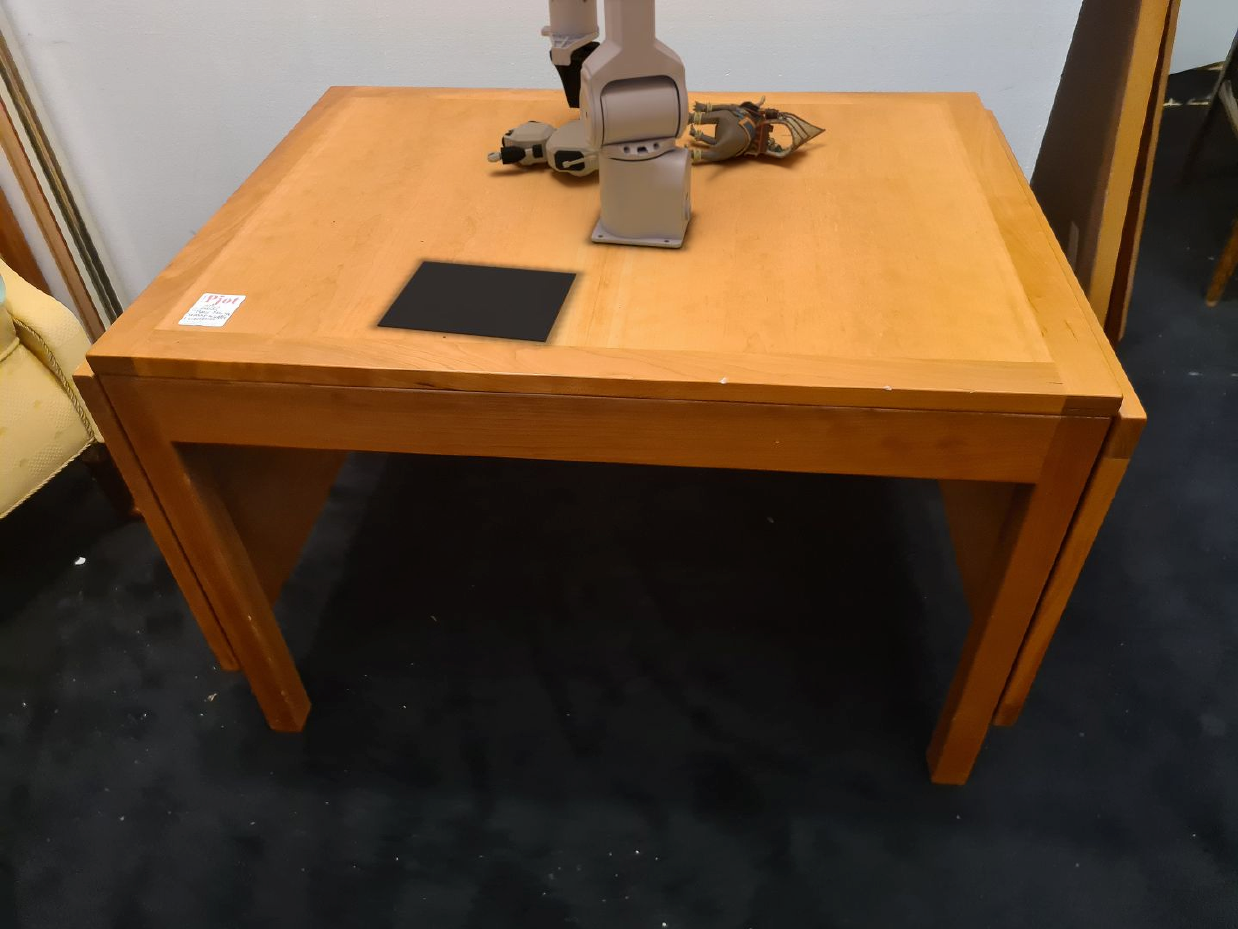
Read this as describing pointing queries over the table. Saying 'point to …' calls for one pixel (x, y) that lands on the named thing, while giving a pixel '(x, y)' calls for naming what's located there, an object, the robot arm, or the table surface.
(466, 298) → the mat
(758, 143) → the leather gauntlet glove
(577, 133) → the robot toy
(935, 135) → the table surface
